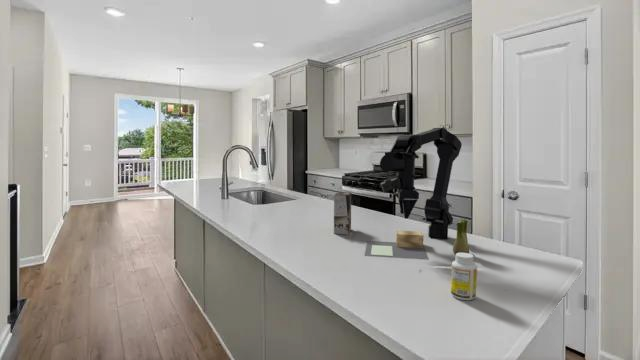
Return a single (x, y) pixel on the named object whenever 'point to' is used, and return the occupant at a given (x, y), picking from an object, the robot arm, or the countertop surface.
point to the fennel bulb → (461, 238)
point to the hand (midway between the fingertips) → (404, 215)
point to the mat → (393, 250)
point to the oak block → (409, 239)
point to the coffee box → (342, 213)
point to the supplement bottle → (464, 277)
